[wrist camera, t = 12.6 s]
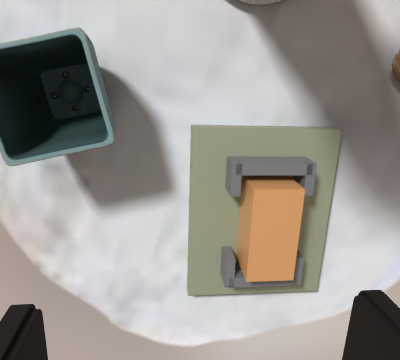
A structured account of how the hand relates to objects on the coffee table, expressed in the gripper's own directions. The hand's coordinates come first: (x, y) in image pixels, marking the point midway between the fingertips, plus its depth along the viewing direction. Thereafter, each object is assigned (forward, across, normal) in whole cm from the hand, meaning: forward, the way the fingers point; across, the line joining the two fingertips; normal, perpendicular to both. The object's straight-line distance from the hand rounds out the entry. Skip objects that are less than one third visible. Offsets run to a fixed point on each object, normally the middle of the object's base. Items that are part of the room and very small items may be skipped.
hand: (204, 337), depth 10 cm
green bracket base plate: (+28, -10, +8) cm, 31 cm away
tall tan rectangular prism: (+27, -10, +8) cm, 30 cm away
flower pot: (+28, +10, -5) cm, 31 cm away
